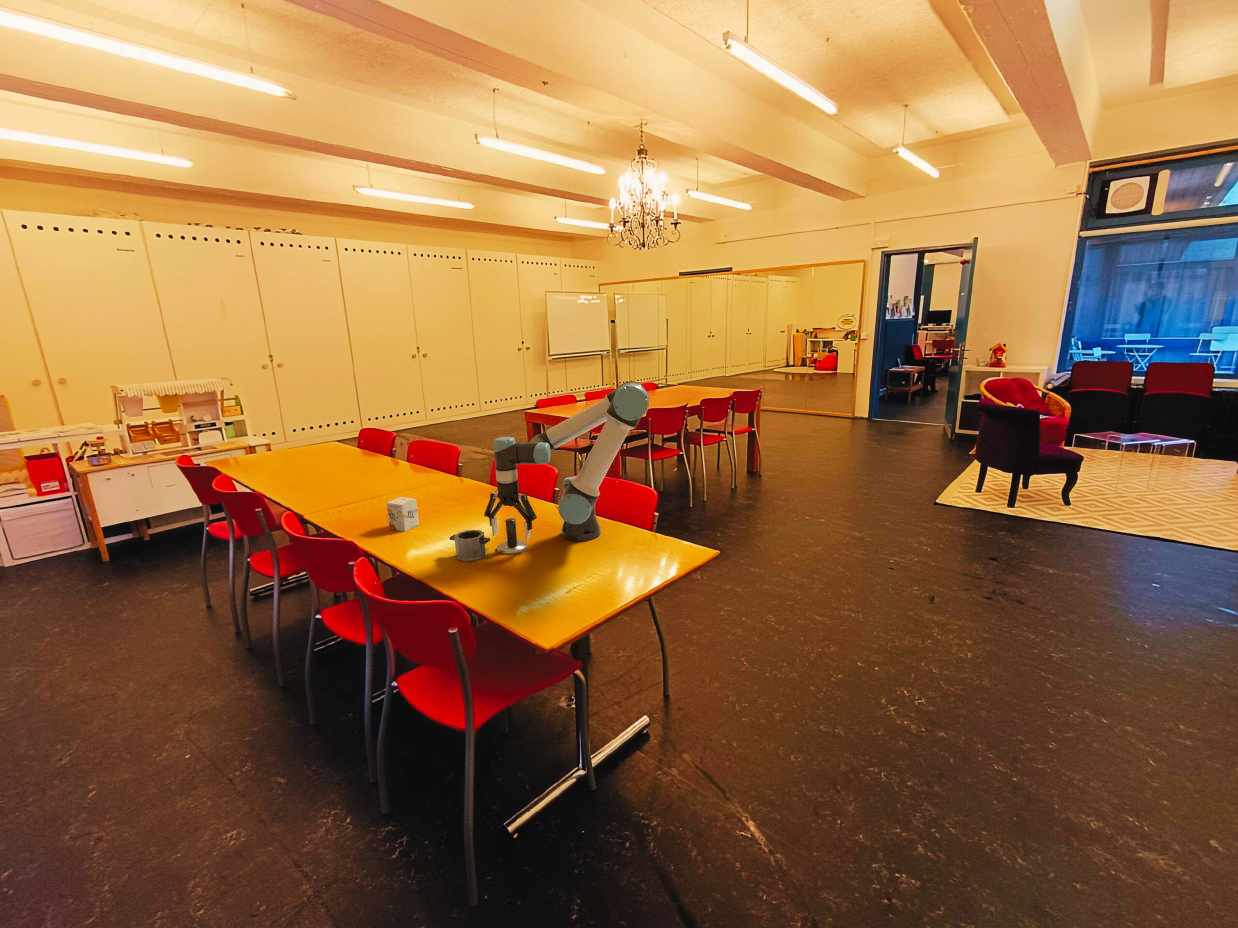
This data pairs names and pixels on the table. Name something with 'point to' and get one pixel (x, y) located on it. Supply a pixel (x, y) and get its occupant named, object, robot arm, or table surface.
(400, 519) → the ink box
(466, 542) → the pot
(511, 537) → the lid
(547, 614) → the table surface
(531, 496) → the table surface
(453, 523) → the table surface
